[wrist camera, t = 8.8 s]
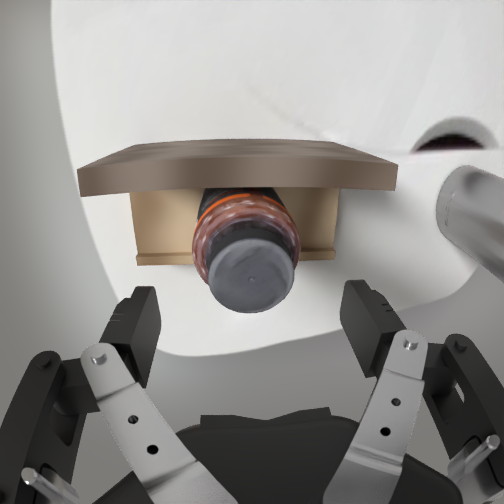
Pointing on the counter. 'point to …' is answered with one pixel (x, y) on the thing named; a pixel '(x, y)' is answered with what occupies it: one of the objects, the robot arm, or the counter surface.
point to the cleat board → (232, 175)
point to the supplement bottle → (245, 247)
